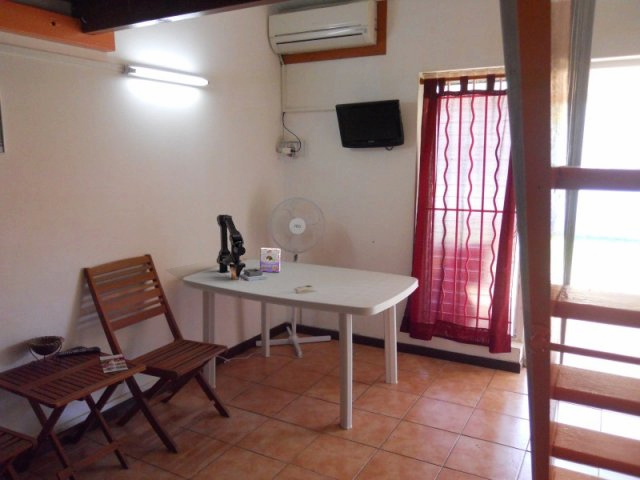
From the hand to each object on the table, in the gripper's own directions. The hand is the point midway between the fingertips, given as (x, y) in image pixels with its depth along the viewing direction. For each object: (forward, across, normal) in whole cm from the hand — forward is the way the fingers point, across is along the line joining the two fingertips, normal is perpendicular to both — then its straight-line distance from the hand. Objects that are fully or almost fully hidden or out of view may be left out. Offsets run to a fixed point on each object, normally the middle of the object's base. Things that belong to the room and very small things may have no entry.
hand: (235, 275), depth 326 cm
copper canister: (+2, 0, 0) cm, 2 cm away
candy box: (+2, -10, +32) cm, 33 cm away
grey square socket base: (+2, 0, +12) cm, 12 cm away
